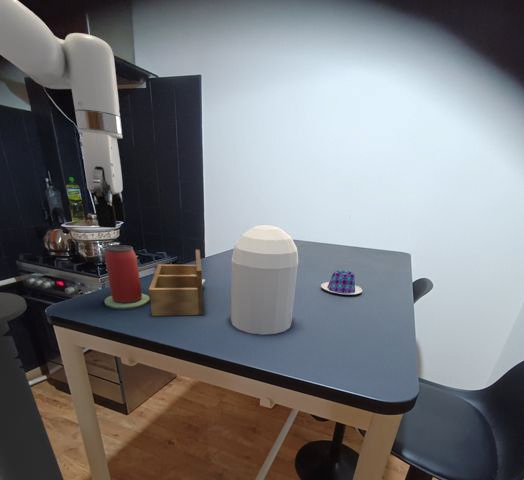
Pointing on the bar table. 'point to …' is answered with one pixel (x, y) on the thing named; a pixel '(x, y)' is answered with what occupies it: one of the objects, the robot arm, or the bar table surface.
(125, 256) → the beer can
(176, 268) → the box
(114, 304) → the coaster
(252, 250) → the container
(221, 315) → the bar table surface
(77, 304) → the bar table surface
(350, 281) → the pudding
